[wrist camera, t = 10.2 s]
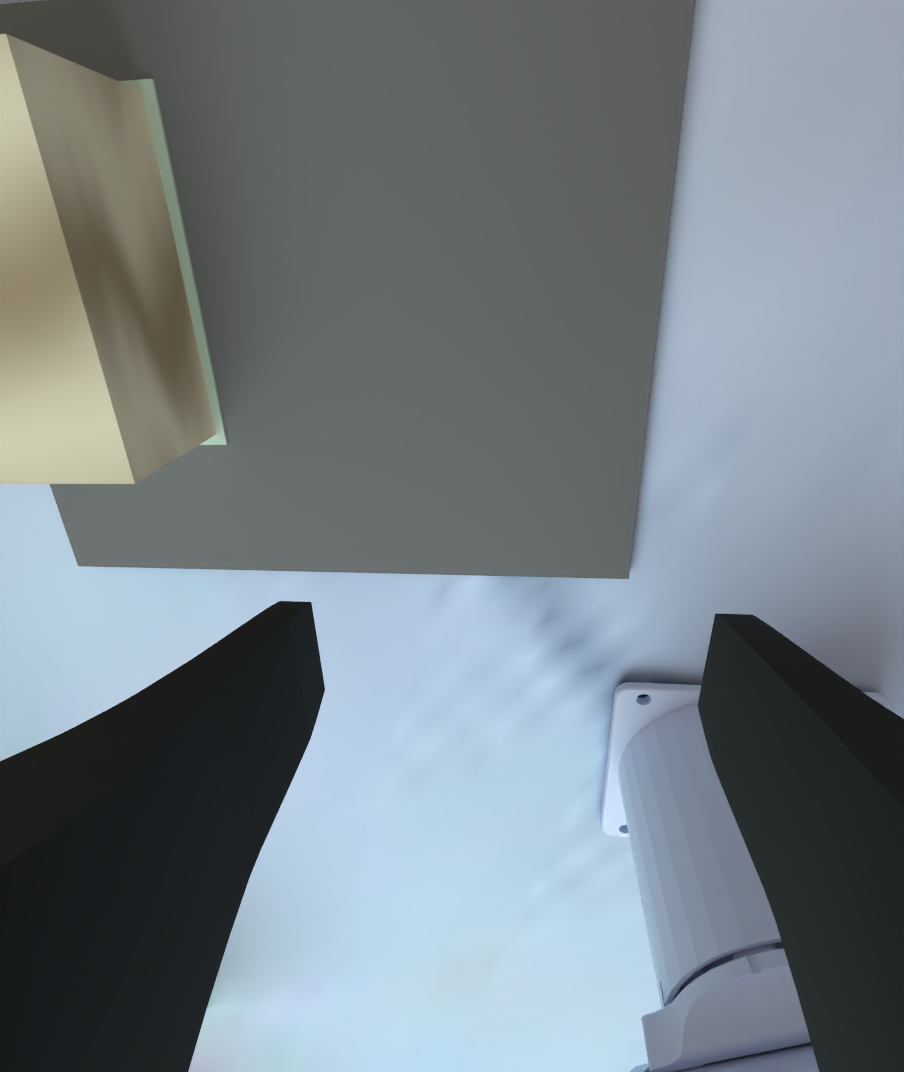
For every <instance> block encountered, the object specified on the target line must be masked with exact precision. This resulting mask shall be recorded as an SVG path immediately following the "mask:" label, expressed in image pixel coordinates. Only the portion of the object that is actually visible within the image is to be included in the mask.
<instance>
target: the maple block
mask: <svg viewBox="0 0 904 1072" xmlns="http://www.w3.org/2000/svg"><path fill="white" fill-rule="evenodd" d="M214 435H216V431H215V426H214V422H213V417H212V412H211V408H210V403H209V398H208V394H207V389H206V384H205V380H204V375H203V370H202V366H201V361H200V356H199V352H198V347H197V342H196V338H195V333H194V328H193V324H192V319H191V314H190V310H189V305H188V300H187V296H186V291H185V286H184V282H183V277H182V272H181V268H180V263H179V258H178V254H177V249H176V244H175V240H174V235H173V230H172V226H171V221H170V216H169V212H168V207H167V202H166V198H165V193H164V188H163V184H162V179H161V174H160V170H159V165H158V160H157V156H156V151H155V146H154V142H153V137H152V132H151V128H150V123H149V118H148V114H147V109H146V104H145V100H144V95H143V92H142V91H140V90H138V89H135V88H133V87H131V86H128V85H126V84H124V83H121V82H119V81H116V80H114V79H112V78H109V77H107V76H105V75H102V74H100V73H98V72H95V71H93V70H91V69H88V68H86V67H83V66H81V65H79V64H76V63H74V62H72V61H69V60H67V59H65V58H62V57H60V56H58V55H55V54H53V53H50V52H48V51H46V50H43V49H41V48H39V47H36V46H34V45H32V44H29V43H27V42H25V41H22V40H20V39H17V38H15V37H13V36H10V35H8V34H0V484H136V483H137V482H139V481H141V480H142V479H144V478H145V477H147V476H149V475H150V474H152V473H154V472H155V471H157V470H159V469H160V468H162V467H164V466H165V465H167V464H168V463H170V462H172V461H173V460H175V459H177V458H178V457H180V456H182V455H183V454H185V453H187V452H188V451H190V450H191V449H193V448H195V447H196V446H198V445H200V444H201V443H203V442H205V441H206V440H208V439H209V438H211V437H213V436H214Z"/></svg>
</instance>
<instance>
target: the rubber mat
mask: <svg viewBox="0 0 904 1072" xmlns="http://www.w3.org/2000/svg"><path fill="white" fill-rule="evenodd" d="M694 6H695V0H49V1H37V2H26V3H14V4H2V5H0V34H8V35H10V36H13V37H15V38H17V39H20V40H22V41H25V42H27V43H29V44H32V45H34V46H36V47H39V48H41V49H43V50H46V51H48V52H50V53H53V54H55V55H58V56H60V57H62V58H65V59H67V60H69V61H72V62H74V63H76V64H79V65H81V66H83V67H86V68H88V69H91V70H93V71H95V72H98V73H100V74H102V75H105V76H107V77H109V78H112V79H114V80H116V81H119V82H121V83H124V84H126V85H128V86H131V87H133V88H135V89H138V90H140V91H142V92H143V95H144V100H145V104H146V109H147V114H148V118H149V123H150V128H151V132H152V137H153V142H154V146H155V151H156V156H157V160H158V165H159V170H160V174H161V179H162V184H163V188H164V193H165V198H166V202H167V207H168V212H169V216H170V221H171V226H172V230H173V235H174V240H175V244H176V249H177V254H178V258H179V263H180V268H181V272H182V277H183V282H184V286H185V291H186V296H187V300H188V305H189V310H190V314H191V319H192V324H193V328H194V333H195V338H196V342H197V347H198V352H199V356H200V361H201V366H202V370H203V375H204V380H205V384H206V389H207V394H208V398H209V403H210V408H211V412H212V417H213V422H214V426H215V431H216V435H214V436H213V437H211V438H209V439H208V440H206V441H205V442H203V443H201V444H200V445H198V446H196V447H195V448H193V449H191V450H190V451H188V452H187V453H185V454H183V455H182V456H180V457H178V458H177V459H175V460H173V461H172V462H170V463H168V464H167V465H165V466H164V467H162V468H160V469H159V470H157V471H155V472H154V473H152V474H150V475H149V476H147V477H145V478H144V479H142V480H141V481H139V482H137V483H136V484H50V486H51V489H52V492H53V495H54V498H55V501H56V503H57V506H58V509H59V512H60V515H61V518H62V521H63V523H64V526H65V529H66V532H67V535H68V538H69V541H70V544H71V546H72V549H73V552H74V555H75V558H76V561H77V564H78V566H96V567H140V568H183V569H226V570H269V571H312V572H355V573H399V574H442V575H485V576H528V577H571V578H614V579H629V571H630V563H631V554H632V545H633V536H634V528H635V519H636V510H637V502H638V493H639V484H640V476H641V467H642V458H643V450H644V441H645V432H646V423H647V415H648V406H649V397H650V389H651V380H652V371H653V363H654V354H655V345H656V337H657V328H658V319H659V310H660V302H661V293H662V284H663V276H664V267H665V258H666V250H667V241H668V232H669V224H670V215H671V206H672V197H673V189H674V180H675V171H676V163H677V154H678V145H679V137H680V128H681V119H682V111H683V102H684V93H685V85H686V76H687V67H688V58H689V50H690V41H691V32H692V24H693V15H694Z"/></svg>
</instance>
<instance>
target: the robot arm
mask: <svg viewBox="0 0 904 1072" xmlns="http://www.w3.org/2000/svg"><path fill="white" fill-rule="evenodd" d="M324 691H325V687H324V681H323V674H322V668H321V662H320V655H319V649H318V642H317V636H316V630H315V623H314V617H313V611H312V604H311V602H290V601H279V602H277V603H276V604H274V605H272V606H270V607H269V608H267V609H266V610H264V611H263V612H261V613H259V614H258V615H256V616H255V617H254V618H252V619H251V620H249V621H248V622H246V623H245V624H243V625H242V626H240V627H239V628H237V629H236V630H234V631H233V632H232V633H230V634H229V635H227V636H226V637H224V638H223V639H221V640H220V641H218V642H217V643H215V644H214V645H212V646H211V647H209V648H208V649H206V650H205V651H204V652H202V653H201V654H199V655H198V656H196V657H195V658H193V659H192V660H190V661H188V662H187V663H185V664H184V665H182V666H180V667H179V668H177V669H176V670H174V671H172V672H171V673H169V674H168V675H166V676H164V677H163V678H161V679H160V680H158V681H156V682H155V683H153V684H152V685H150V686H148V687H147V688H145V689H143V690H142V691H140V692H139V693H137V694H135V695H133V696H132V697H130V698H128V699H126V700H125V701H123V702H121V703H119V704H118V705H116V706H114V707H112V708H110V709H109V710H107V711H105V712H103V713H101V714H99V715H97V716H95V717H93V718H91V719H89V720H87V721H86V722H84V723H82V724H80V725H78V726H76V727H74V728H72V729H70V730H68V731H66V732H64V733H62V734H60V735H58V736H55V737H53V738H51V739H49V740H47V741H44V742H42V743H40V744H38V745H36V746H33V747H31V748H29V749H27V750H25V751H22V752H20V753H18V754H16V755H13V756H11V757H9V758H7V759H5V760H2V761H0V1072H188V1070H189V1067H190V1063H191V1060H192V1056H193V1053H194V1050H195V1046H196V1043H197V1039H198V1036H199V1033H200V1029H201V1026H202V1022H203V1019H204V1015H205V1012H206V1009H207V1005H208V1002H209V999H210V996H211V993H212V990H213V986H214V983H215V980H216V977H217V974H218V971H219V967H220V964H221V961H222V958H223V955H224V952H225V948H226V945H227V942H228V939H229V936H230V933H231V930H232V927H233V924H234V921H235V918H236V915H237V912H238V909H239V907H240V904H241V901H242V898H243V895H244V892H245V889H246V886H247V883H248V880H249V877H250V875H251V872H252V870H253V867H254V865H255V862H256V860H257V857H258V855H259V853H260V850H261V848H262V846H263V844H264V841H265V839H266V837H267V835H268V832H269V830H270V828H271V826H272V824H273V821H274V819H275V817H276V815H277V812H278V810H279V808H280V806H281V804H282V801H283V799H284V797H285V795H286V793H287V790H288V788H289V786H290V784H291V782H292V779H293V777H294V775H295V773H296V770H297V768H298V766H299V764H300V761H301V759H302V757H303V754H304V752H305V750H306V748H307V745H308V743H309V741H310V738H311V735H312V732H313V729H314V725H315V722H316V719H317V716H318V712H319V709H320V705H321V702H322V698H323V694H324ZM641 694H647V695H648V696H646V697H644V698H639V697H638V696H639V695H641ZM889 708H890V705H889V703H888V701H887V700H886V699H885V698H884V696H883V695H881V694H880V693H875V692H862V691H860V690H859V689H858V688H856V687H855V686H853V685H852V684H850V683H849V682H847V681H846V680H845V679H843V678H842V677H840V676H839V675H838V674H836V673H835V672H833V671H832V670H830V669H829V668H828V667H826V666H825V665H824V664H822V663H821V662H819V661H818V660H817V659H815V658H814V657H812V656H811V655H810V654H808V653H807V652H806V651H804V650H803V649H801V648H800V647H799V646H797V645H796V644H794V643H793V642H792V641H790V640H789V639H788V638H786V637H785V636H783V635H782V634H781V633H779V632H778V631H776V630H775V629H774V628H772V627H771V626H769V625H768V624H766V623H765V622H763V621H762V620H760V619H759V618H757V617H755V616H754V615H743V614H715V618H714V624H713V629H712V634H711V639H710V644H709V649H708V654H707V659H706V665H705V670H704V675H703V680H702V685H686V684H662V683H637V682H627V683H623V684H620V685H619V686H618V687H617V688H616V690H615V694H614V703H613V711H612V720H611V729H610V738H609V746H608V755H607V764H606V773H605V781H604V790H603V799H602V808H601V816H600V824H601V830H602V831H603V832H604V833H606V834H607V835H611V836H624V837H629V838H630V844H631V849H632V854H633V859H634V865H635V870H636V875H637V880H638V886H639V891H640V896H641V901H642V907H643V912H644V917H645V922H646V928H647V933H648V938H649V943H650V949H651V954H652V959H653V964H654V970H655V975H656V980H657V985H658V991H659V996H660V1001H661V1006H662V1009H660V1010H658V1011H656V1012H653V1013H650V1014H647V1015H644V1016H643V1017H642V1025H643V1032H644V1038H645V1044H646V1050H647V1057H648V1064H644V1065H640V1066H637V1067H635V1068H633V1069H632V1070H631V1071H630V1072H904V719H903V718H901V717H900V716H898V715H897V714H895V713H893V712H892V711H890V710H889Z"/></svg>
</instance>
